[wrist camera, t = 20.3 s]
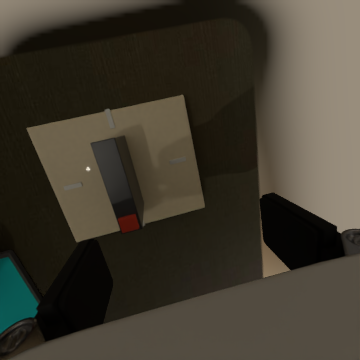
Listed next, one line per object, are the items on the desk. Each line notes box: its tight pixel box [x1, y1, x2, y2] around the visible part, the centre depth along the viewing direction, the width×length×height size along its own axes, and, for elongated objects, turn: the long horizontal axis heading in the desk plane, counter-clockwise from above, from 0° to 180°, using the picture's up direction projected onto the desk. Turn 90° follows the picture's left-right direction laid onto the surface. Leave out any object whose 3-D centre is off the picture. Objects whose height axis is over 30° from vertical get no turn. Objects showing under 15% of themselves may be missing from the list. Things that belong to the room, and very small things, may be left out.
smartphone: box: [0, 250, 43, 334], centre depth 21 cm, size 7×1×15 cm
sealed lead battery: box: [90, 135, 144, 234], centre depth 13 cm, size 6×1×5 cm, turn 13°
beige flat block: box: [27, 95, 205, 242], centre depth 17 cm, size 12×10×3 cm
